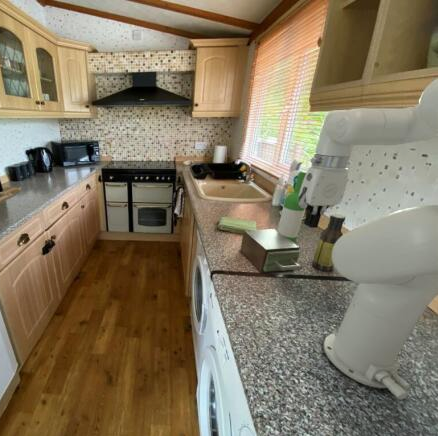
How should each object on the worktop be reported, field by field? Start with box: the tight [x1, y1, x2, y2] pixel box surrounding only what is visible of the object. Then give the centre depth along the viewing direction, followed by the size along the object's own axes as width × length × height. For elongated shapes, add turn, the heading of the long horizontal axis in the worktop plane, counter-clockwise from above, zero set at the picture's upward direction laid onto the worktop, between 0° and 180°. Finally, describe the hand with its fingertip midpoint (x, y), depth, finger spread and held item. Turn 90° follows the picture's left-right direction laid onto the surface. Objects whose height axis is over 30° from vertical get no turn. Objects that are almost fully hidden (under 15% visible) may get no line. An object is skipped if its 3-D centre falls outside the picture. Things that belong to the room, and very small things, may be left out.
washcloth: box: [217, 216, 258, 235], centre depth 117 cm, size 13×18×3 cm
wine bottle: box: [276, 171, 307, 244], centre depth 101 cm, size 8×8×30 cm
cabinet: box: [240, 228, 300, 273], centre depth 90 cm, size 15×13×9 cm
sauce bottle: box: [312, 213, 346, 271], centre depth 84 cm, size 6×6×20 cm
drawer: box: [263, 249, 303, 273], centre depth 87 cm, size 18×11×7 cm, turn 9°
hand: (310, 225), depth 70 cm, fingers closed
